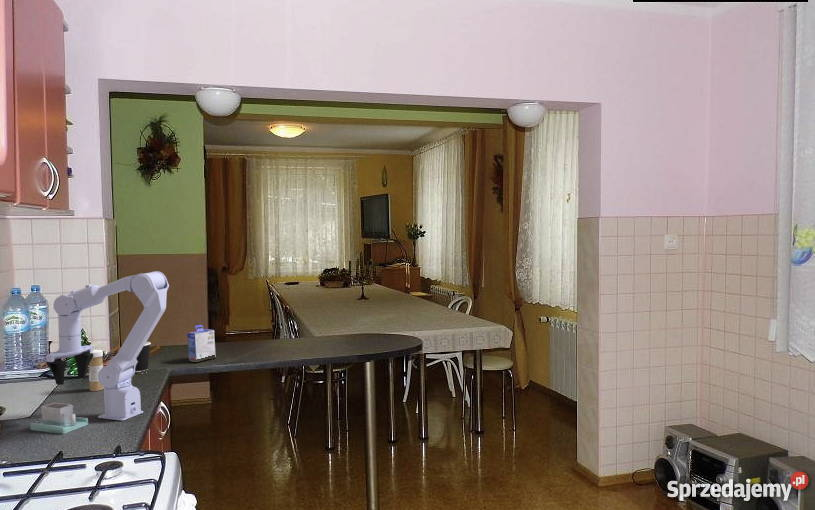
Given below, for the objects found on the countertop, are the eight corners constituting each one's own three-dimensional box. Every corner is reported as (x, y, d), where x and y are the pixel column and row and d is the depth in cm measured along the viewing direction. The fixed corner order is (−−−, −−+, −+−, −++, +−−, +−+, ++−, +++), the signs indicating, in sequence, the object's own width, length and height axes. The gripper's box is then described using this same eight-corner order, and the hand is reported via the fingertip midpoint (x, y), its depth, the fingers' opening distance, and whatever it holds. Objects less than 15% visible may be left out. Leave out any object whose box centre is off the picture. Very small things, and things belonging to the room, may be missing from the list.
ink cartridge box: (207, 357, 254) (206, 323, 253) (216, 358, 251) (215, 324, 250) (187, 362, 246) (186, 326, 245) (196, 363, 243) (195, 327, 242)
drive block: (73, 422, 169) (72, 404, 168) (61, 427, 165) (60, 408, 165) (55, 420, 171) (54, 402, 171) (42, 424, 167) (41, 406, 167)
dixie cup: (125, 374, 227) (123, 345, 226) (136, 369, 235) (134, 341, 234) (145, 374, 226) (144, 345, 225) (155, 369, 234) (154, 341, 233)
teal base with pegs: (88, 424, 170) (87, 410, 169) (63, 434, 162) (62, 419, 162) (56, 420, 174) (55, 406, 173) (30, 429, 166) (29, 415, 166)
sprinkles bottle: (92, 388, 208) (90, 349, 208) (106, 387, 209) (104, 349, 208) (87, 391, 204) (85, 352, 203) (101, 391, 204) (99, 351, 204)
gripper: (79, 330, 185) (80, 373, 186) (37, 338, 171) (38, 386, 172) (97, 331, 183) (98, 375, 184) (56, 340, 169) (57, 388, 170)
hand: (71, 381), depth 178 cm, fingers open, 7 cm apart
